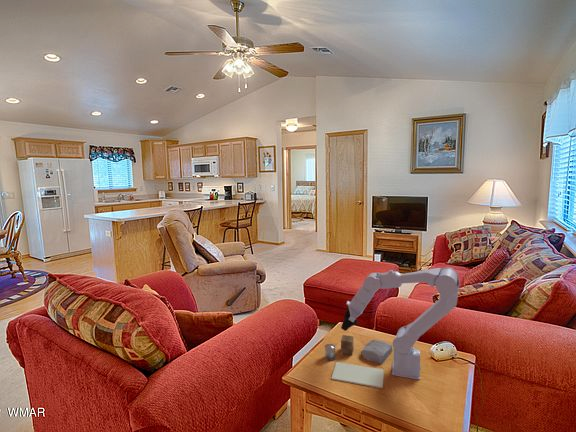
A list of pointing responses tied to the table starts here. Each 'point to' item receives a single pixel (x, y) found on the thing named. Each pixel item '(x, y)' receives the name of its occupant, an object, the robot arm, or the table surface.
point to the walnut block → (347, 345)
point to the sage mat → (358, 375)
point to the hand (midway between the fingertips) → (345, 323)
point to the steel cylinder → (330, 352)
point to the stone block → (377, 351)
